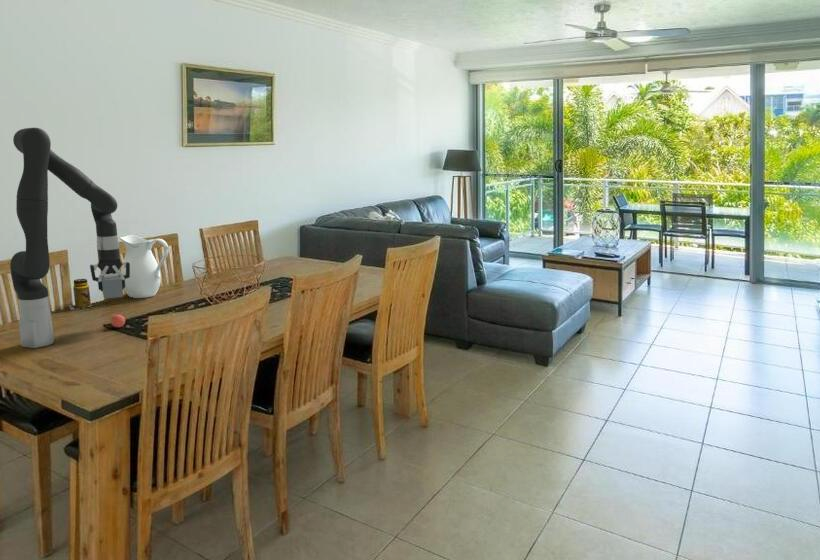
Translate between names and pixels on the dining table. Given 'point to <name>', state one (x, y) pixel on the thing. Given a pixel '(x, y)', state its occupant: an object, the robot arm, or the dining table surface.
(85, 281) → the condiment
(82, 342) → the dining table surface
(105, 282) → the grey rectangular block
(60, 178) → the robot arm
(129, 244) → the pitcher
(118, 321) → the ball
